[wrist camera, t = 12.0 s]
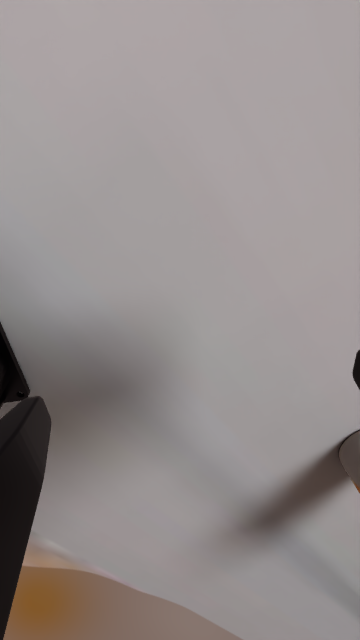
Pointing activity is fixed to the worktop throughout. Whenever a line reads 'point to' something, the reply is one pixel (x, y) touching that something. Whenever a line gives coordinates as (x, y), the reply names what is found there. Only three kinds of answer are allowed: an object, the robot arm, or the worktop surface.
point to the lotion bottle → (351, 458)
